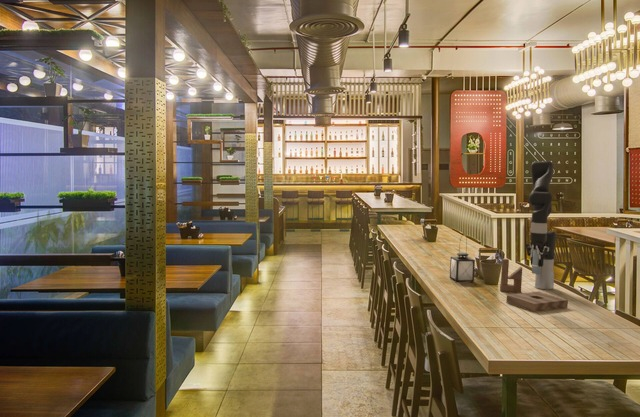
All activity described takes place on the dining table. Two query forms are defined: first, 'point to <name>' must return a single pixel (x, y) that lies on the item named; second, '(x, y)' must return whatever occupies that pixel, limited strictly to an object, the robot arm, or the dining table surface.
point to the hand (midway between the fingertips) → (536, 265)
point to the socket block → (537, 301)
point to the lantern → (462, 267)
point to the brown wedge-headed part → (515, 275)
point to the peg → (535, 263)
